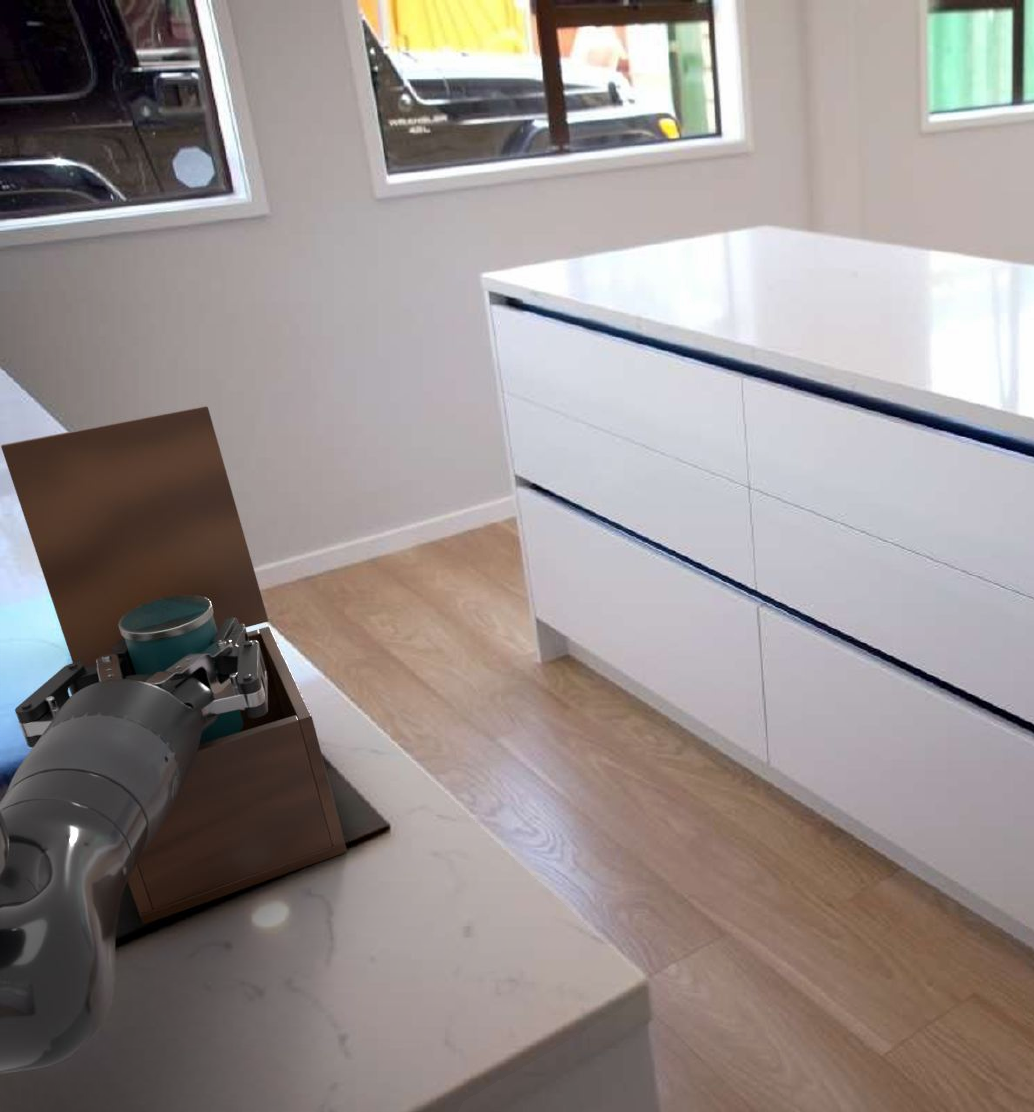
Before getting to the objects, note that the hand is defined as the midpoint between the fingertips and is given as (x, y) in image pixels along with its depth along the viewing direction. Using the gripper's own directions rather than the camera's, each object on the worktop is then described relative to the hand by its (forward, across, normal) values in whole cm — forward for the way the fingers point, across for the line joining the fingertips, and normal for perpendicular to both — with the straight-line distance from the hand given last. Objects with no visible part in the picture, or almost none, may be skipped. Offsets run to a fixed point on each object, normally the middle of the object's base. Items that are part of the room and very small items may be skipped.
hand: (188, 636), depth 84 cm
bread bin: (-1, 0, +15) cm, 15 cm away
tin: (-3, 0, +6) cm, 7 cm away
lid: (+7, +4, -5) cm, 9 cm away
